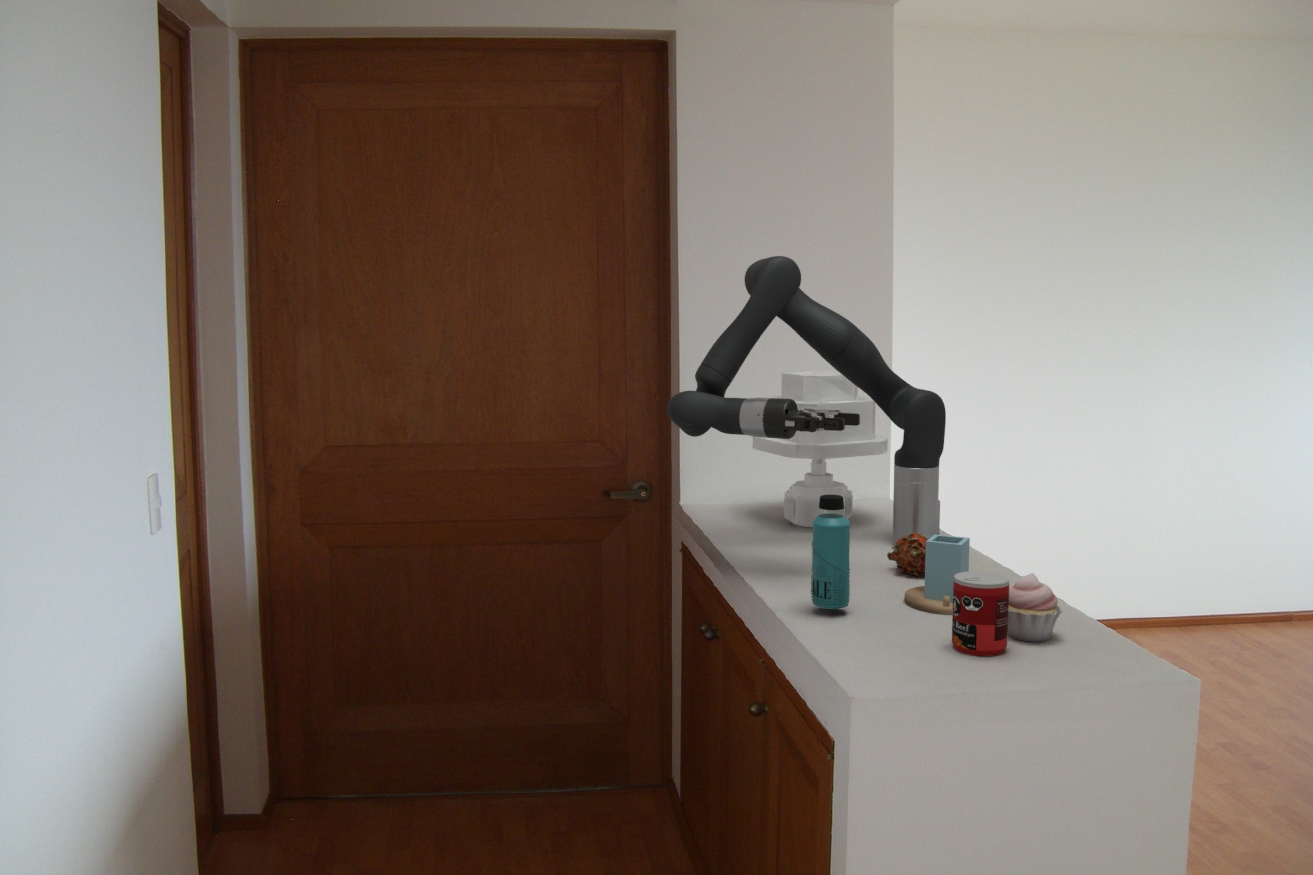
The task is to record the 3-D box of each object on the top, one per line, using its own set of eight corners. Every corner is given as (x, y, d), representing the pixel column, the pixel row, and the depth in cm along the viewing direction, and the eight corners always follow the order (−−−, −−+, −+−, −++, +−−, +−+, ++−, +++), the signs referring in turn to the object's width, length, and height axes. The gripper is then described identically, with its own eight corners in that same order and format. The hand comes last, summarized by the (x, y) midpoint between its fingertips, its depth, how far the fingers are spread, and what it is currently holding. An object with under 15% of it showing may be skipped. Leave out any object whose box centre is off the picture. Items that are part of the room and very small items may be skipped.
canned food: (944, 641, 165) (946, 571, 163) (994, 639, 165) (997, 570, 164) (962, 657, 157) (964, 584, 156) (1015, 656, 158) (1018, 583, 156)
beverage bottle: (852, 608, 182) (854, 492, 179) (846, 619, 176) (848, 499, 173) (814, 605, 184) (816, 490, 182) (806, 616, 178) (808, 497, 175)
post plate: (934, 587, 195) (936, 546, 194) (1004, 603, 184) (1006, 560, 183) (888, 602, 186) (889, 559, 185) (958, 620, 175) (960, 574, 174)
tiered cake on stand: (740, 517, 257) (740, 371, 253) (833, 507, 269) (835, 368, 264) (800, 539, 233) (802, 379, 229) (899, 527, 245) (903, 374, 240)
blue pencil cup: (933, 589, 189) (934, 534, 187) (967, 594, 186) (969, 537, 185) (924, 598, 184) (925, 541, 182) (959, 602, 181) (961, 544, 179)
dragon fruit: (922, 590, 199) (900, 582, 211) (957, 561, 200) (933, 556, 212) (895, 554, 198) (874, 548, 210) (930, 525, 199) (907, 522, 211)
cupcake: (1074, 638, 165) (1077, 575, 164) (1034, 649, 161) (1036, 584, 159) (1024, 623, 173) (1027, 563, 172) (985, 633, 168) (987, 571, 167)
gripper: (753, 401, 195) (839, 405, 187) (783, 394, 207) (864, 398, 199) (753, 442, 196) (838, 447, 188) (782, 433, 208) (863, 438, 200)
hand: (851, 422), depth 194 cm, fingers open, 8 cm apart
